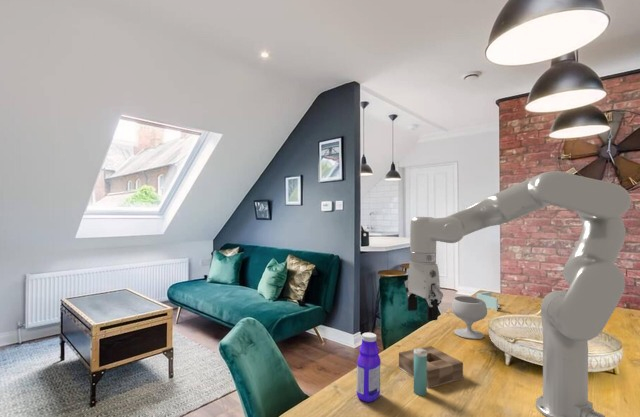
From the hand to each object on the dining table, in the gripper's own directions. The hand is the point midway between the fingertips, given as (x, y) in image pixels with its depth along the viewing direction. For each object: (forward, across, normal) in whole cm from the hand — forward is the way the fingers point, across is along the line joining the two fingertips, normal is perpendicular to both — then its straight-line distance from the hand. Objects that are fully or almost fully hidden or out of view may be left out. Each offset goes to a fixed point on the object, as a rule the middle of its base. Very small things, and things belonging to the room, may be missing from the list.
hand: (421, 315), depth 100 cm
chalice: (+22, +30, -46) cm, 59 cm away
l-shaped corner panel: (+22, +60, -90) cm, 110 cm away
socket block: (+21, +6, -8) cm, 24 cm away
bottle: (+22, 0, +17) cm, 28 cm away
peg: (+21, -3, +2) cm, 22 cm away
